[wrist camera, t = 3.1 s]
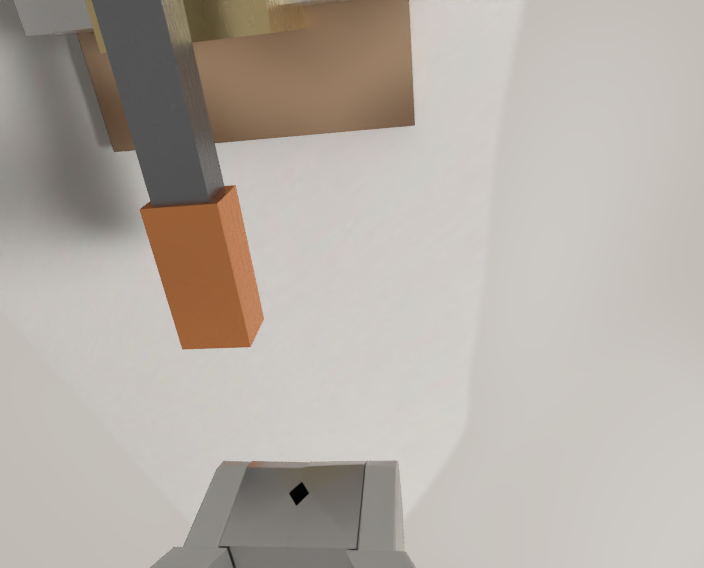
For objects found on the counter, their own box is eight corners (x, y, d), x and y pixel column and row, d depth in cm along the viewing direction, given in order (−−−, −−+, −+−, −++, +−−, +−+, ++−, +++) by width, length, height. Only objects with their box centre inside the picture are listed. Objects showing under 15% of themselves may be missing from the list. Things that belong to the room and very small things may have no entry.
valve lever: (68, -130, 13) (20, -151, 11) (172, -148, 13) (138, -171, 11) (196, 321, 19) (176, 349, 17) (269, 318, 19) (256, 346, 17)
